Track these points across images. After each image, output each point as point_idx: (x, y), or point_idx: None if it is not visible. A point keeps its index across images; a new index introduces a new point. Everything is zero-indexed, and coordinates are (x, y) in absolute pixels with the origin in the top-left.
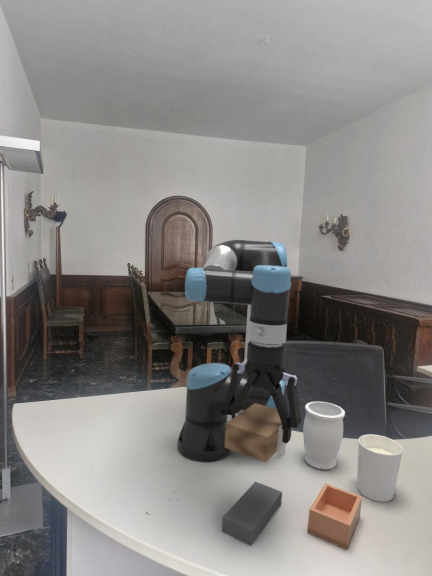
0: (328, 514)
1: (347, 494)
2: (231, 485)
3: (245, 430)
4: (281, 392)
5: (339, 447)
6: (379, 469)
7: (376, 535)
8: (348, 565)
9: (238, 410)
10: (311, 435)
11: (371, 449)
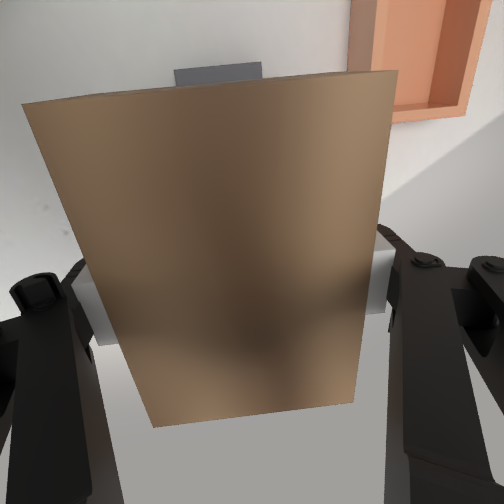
0: (412, 110)
1: None
2: (109, 82)
3: (250, 412)
4: (484, 476)
5: None
6: None
7: (494, 3)
8: (431, 150)
9: (84, 325)
10: None
11: None
